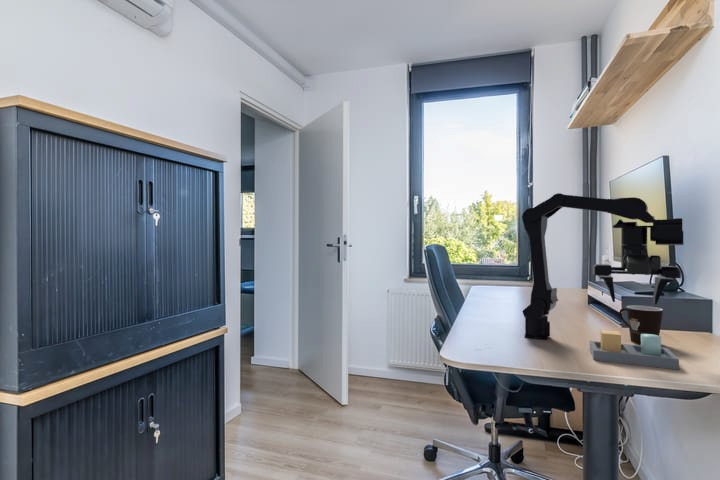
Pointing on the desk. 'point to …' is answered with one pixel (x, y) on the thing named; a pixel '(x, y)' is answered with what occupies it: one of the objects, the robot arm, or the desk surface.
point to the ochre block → (610, 341)
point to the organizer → (634, 356)
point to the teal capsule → (650, 344)
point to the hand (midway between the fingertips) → (634, 303)
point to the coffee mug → (642, 321)
